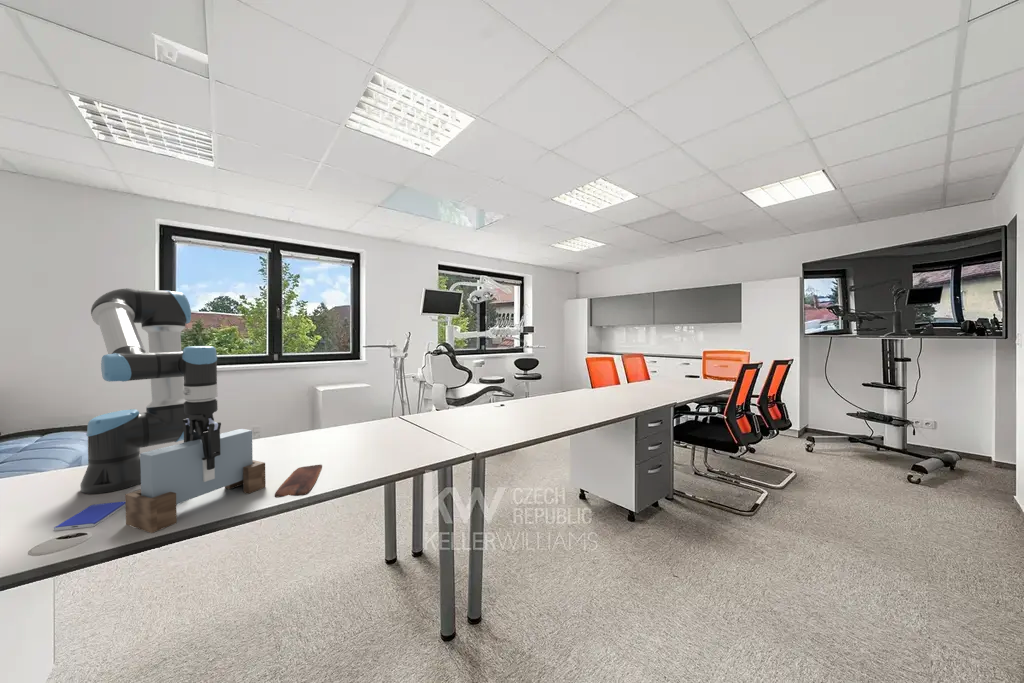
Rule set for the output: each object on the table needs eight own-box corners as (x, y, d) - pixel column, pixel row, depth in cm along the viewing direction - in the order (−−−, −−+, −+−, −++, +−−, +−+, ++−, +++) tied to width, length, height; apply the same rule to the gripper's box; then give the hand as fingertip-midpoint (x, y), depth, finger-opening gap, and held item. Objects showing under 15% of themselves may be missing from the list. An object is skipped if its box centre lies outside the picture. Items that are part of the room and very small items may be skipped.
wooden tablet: (297, 464, 142) (326, 459, 144) (297, 469, 142) (327, 464, 144) (271, 495, 116) (307, 488, 118) (272, 502, 116) (308, 495, 119)
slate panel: (141, 509, 100) (140, 453, 100) (242, 473, 125) (241, 428, 124) (152, 513, 99) (151, 456, 98) (252, 476, 123) (252, 430, 122)
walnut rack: (126, 524, 100) (125, 494, 99) (242, 481, 128) (241, 458, 127) (151, 533, 96) (150, 501, 95) (265, 487, 124) (265, 462, 123)
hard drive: (90, 504, 108) (53, 526, 96) (126, 501, 111) (94, 522, 99) (91, 510, 108) (53, 532, 97) (127, 506, 111) (94, 528, 99)
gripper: (166, 399, 110) (168, 478, 111) (206, 404, 104) (208, 488, 105) (195, 394, 117) (197, 469, 118) (235, 399, 111) (236, 478, 112)
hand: (202, 478), depth 111 cm, fingers closed on slate panel, 5 cm apart
